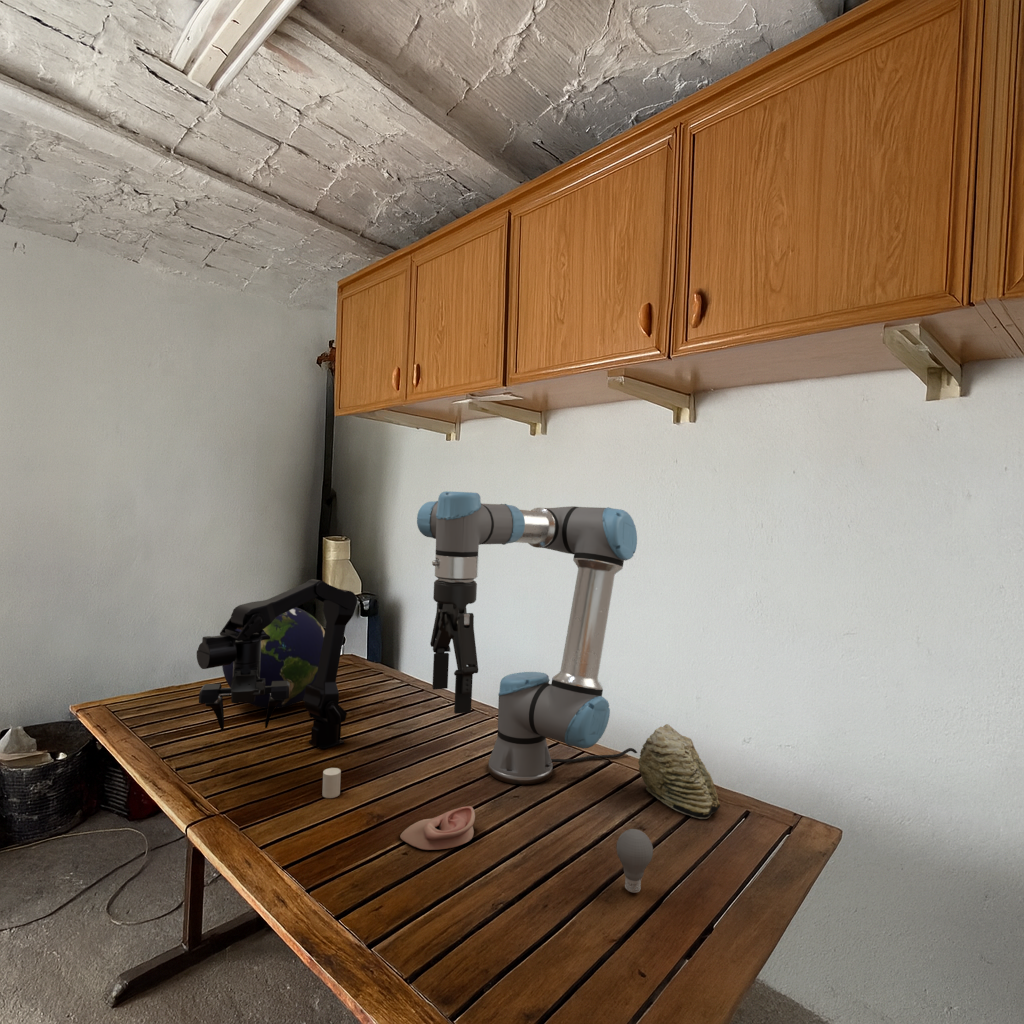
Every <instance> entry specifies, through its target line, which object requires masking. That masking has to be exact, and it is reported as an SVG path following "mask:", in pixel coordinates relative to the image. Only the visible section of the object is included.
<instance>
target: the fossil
mask: <svg viewBox="0 0 1024 1024" xmlns="http://www.w3.org/2000/svg"><path fill="white" fill-rule="evenodd" d="M639 753H640V755H639V759H638V762H637V763H638V771H639V773H640V776H641V778H642V780H643V783H644V784H645V785H646V788H645V790H646V791H647V792H648V793H650V794H651V795H652V796H653V797H654V798H656V799H657V800H659V801H660V802H661V803H663V804H664V805H666V806H667V807H668V808H670V809H673V810H674V811H676V812H678V813H681V814H684V815H687V816H690V817H693V818H696V819H699V820H707V819H709V818H710V817H711V815H712V814H715V813H716V812H717V811H719V809H720V808H721V803H720V801H719V795H718V793H717V788H716V787H715V783H714V780H713V777H712V776H711V773H710V772H709V771H708V769H707V767H706V765H705V763H704V762H703V761H702V759H701V758H700V755H699V753H698V751H697V749H696V747H695V745H694V742H693V740H692V739H691V738H690V737H688V736H685V735H682V734H680V732H678V731H677V730H676V729H675V728H673V727H672V726H671V725H670V724H669V723H668V724H667V723H666V724H664V725H663V726H659V727H658V728H656V729H654V731H653V733H652V734H651V735H649V737H647V738H646V740H645V742H644V743H643V744H642V748H641V749H640V752H639Z"/></svg>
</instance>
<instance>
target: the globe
mask: <svg viewBox="0 0 1024 1024" xmlns="http://www.w3.org/2000/svg"><path fill="white" fill-rule="evenodd" d="M263 630H264V631H265V633H266V634H268V635H269V636H270V637H271V638H270V639H268V640H262V641H261V661H260V679H261V678H265V686H271V685H272V681H288V682H289V683H290V686H289V698H288V699H283V702H281V703H278V704H277V705H276V707H275V709H282V708H285V707H289V706H293V705H295V704H298V703H299V702H301V701H302V700H303V698H304V696H305V688H306V686H307V685H310V686H311V685H312V684H313V682H314V681H315V680H316V677H317V671H318V666H319V660H320V655H321V650H322V644H323V639H324V633H325V629H324V627H323V626H322V624H321V623H320V621H318V619H317V618H315V616H314V615H312V614H311V613H310V612H308V611H305V610H304V609H302V608H299V607H296V608H294V609H292V610H289V611H287V612H285V613H283V614H281V615H279V616H278V617H276V618H275V619H274V620H273V622H272V623H271V624H270V625H268V626H267V627H266V628H264V629H263ZM236 631H239V632H241V630H239V629H236ZM221 667H222V672H223V676H224V678H225V679H224V680H225V681H226V683H227V685H228V688H231V681H232V679H233V662H232V663H231V664H230V665H224V666H221ZM269 699H270V694H268V695H260V696H256V697H255V701H254V702H252V703H248V705H251V706H254V707H258V708H262V709H268V704H269Z"/></svg>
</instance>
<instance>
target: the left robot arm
mask: <svg viewBox="0 0 1024 1024" xmlns="http://www.w3.org/2000/svg"><path fill="white" fill-rule="evenodd" d="M315 599H316V600H317V601H320V602H322V603H323V605H322V612H323V616H324V619H325V629H324V631H325V633H324V639H323V644H322V650H321V655H320V660H319V666H318V671H317V677H316V680H315V681H314V682H313V684H312V685H311V686H310V685H307V686H306V688H305V696H304V698H303V700H301V701H302V702H304V703H303V707H304V709H305V711H307V713H308V715H309V718H311V719H313V721H312V722H313V723H312V727H311V730H310V731H311V732H310V733H311V735H310V739H309V740H308V743H309V744H310V745H313V746H314V747H316V748H318V749H320V750H327V749H329V748H333V747H336V746H340V745H343V744H344V743H345V741H344V740H343V739H341V737H342V735H341V733H342V723H343V722H346V719H347V715H348V712H347V711H346V710H345V709H344V708H343V707H342V706H341V705H340V691H339V689H338V684H337V678H338V677H337V676H338V671H339V666H340V660H341V654H342V649H343V644H344V643H343V642H344V637H345V633H346V628H347V625H348V623H349V622H350V621H351V620H352V618H353V617H354V614H355V611H356V609H357V605H358V596H356V594H355V592H353V591H352V590H347V589H341V588H338V587H335V586H333V585H331V584H329V583H327V582H325V581H324V580H321V579H314V578H311V579H309V580H307V581H306V582H304V583H301V584H299V585H297V586H295V587H293V588H291V589H288V590H287V591H283V592H281V593H279V594H277V595H275V596H273V597H272V596H271V597H270V598H268V599H263V600H255V601H251V602H246V603H243V604H238V605H237V606H236V607H235V608H234V609H232V613H231V614H230V618H229V619H228V620H227V622H226V624H225V625H224V626H223V627H222V629H221V630H220V632H219V634H218V635H206V636H202V639H201V641H202V642H201V643H200V644H199V645H198V647H197V650H196V662H197V665H198V666H199V667H200V669H201V670H208V669H213V668H219V667H222V666H224V665H230V664H231V663H232V662H233V679H232V681H231V688H230V687H222V683H205V684H204V685H203V686H202V687H201V689H200V690H199V693H198V704H205V707H207V708H208V707H209V708H211V709H212V711H213V713H214V715H215V717H216V720H217V723H218V725H219V728H220V731H221V732H224V730H225V717H224V716H225V714H224V698H225V697H226V698H227V697H229V698H230V697H231V698H230V699H231V703H232V704H234V705H237V704H240V703H247V704H249V703H252V702H254V701H255V697H256V696H260V695H268V694H270V699H269V704H268V708H267V711H266V716H265V723H264V728H265V729H268V727H269V723H270V721H271V718H272V715H273V712H274V710H275V709H276V708H275V707H276V705H277V704H278V703H281V702H283V699H288V698H289V686H290V683H289V682H288V681H272V685H271V686H265V678H261V679H260V661H261V641H262V640H268V639H270V638H271V637H270V636H269V635H268V634H266V633H265V631H264V630H263V629H264V628H266V627H267V626H268V625H270V624H271V623H272V622H273V620H274V619H275V618H276V617H278V616H279V615H281V614H283V613H285V612H287V611H289V610H292V609H294V608H296V607H297V608H299V607H300V606H302V605H304V604H306V603H308V602H311V601H312V600H315ZM236 629H239V630H241V632H239V631H236Z"/></svg>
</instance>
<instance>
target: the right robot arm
mask: <svg viewBox="0 0 1024 1024" xmlns="http://www.w3.org/2000/svg"><path fill="white" fill-rule="evenodd" d="M481 500H482V499H481V495H480V494H479V493H478V492H471V491H470V492H468V491H448V490H447V491H442V492H440V493H439V495H438V500H435V501H434V500H433V501H431V500H430V501H427V502H425V503H423V504H422V505H421V506H420V507H419V509H418V511H417V516H416V526H417V529H418V530H419V532H420V534H421V535H423V536H424V537H426V538H431V539H434V540H435V560H432V561H431V563H432V566H433V567H434V577H436V578H437V579H435V581H434V582H433V598H432V599H433V601H434V602H435V603H436V611H435V612H436V613H435V618H434V623H433V628H432V634H431V639H430V647H431V648H432V651H433V663H432V664H433V665H432V687H431V688H432V690H446V689H448V688H449V687H448V685H449V662H450V653H449V652H451V651H452V650H451V646H450V644H451V641H452V645H453V650H454V657H455V662H456V668H457V669H455V671H454V673H453V675H454V676H455V684H454V685H455V686H454V705H453V713H454V714H455V715H458V714H467V713H468V714H469V713H472V703H473V702H472V701H473V700H472V698H473V678H474V677H473V676H474V674H478V673H479V664H478V663H479V662H478V655H477V654H478V653H477V647H476V646H477V645H476V635H475V626H474V623H475V621H474V618H475V615H474V612H467V606H468V605H470V604H471V605H472V604H474V603H475V602H476V601H477V592H478V584H477V581H475V580H477V578H478V576H479V548H480V547H479V546H480V545H503V546H506V545H507V544H513V543H519V544H520V543H522V544H528V545H530V546H531V547H533V548H538V549H539V548H540V549H547V550H552V551H555V552H559V553H564V554H570V555H573V560H572V561H573V562H574V564H575V565H576V567H577V574H576V579H575V585H574V592H573V597H572V602H571V608H570V614H569V620H568V625H567V631H566V636H565V642H564V648H563V652H562V653H563V654H562V660H561V667H560V671H558V673H557V674H555V675H554V676H553V677H552V679H550V676H549V675H548V674H547V673H545V672H541V671H521V672H514V673H510V674H506V675H505V676H503V677H502V678H501V680H500V683H499V691H498V694H497V695H498V707H497V709H498V711H497V737H496V740H495V743H494V745H493V748H492V750H491V753H490V756H489V760H488V769H487V770H488V771H487V772H488V773H489V775H491V776H492V777H493V778H495V779H496V780H499V781H500V782H504V783H507V784H513V785H523V786H524V785H525V786H526V785H533V784H534V785H535V784H539V783H543V782H545V781H547V780H549V779H550V778H551V777H552V775H553V763H564V764H565V763H568V764H569V763H577V762H581V761H582V762H583V761H586V760H595V759H596V760H597V759H615V758H616V759H617V758H620V757H622V756H625V755H626V754H627V753H629V752H632V753H634V754H638V751H637V750H636V749H635V748H633V747H628V748H627V749H624V750H623V751H621V752H620V753H615V754H594V755H587V756H582V757H576V758H566V759H565V758H563V759H562V758H551V753H550V749H549V746H548V742H547V738H548V739H551V740H554V741H557V742H560V743H563V744H565V745H567V746H568V747H575V748H579V749H590V748H592V747H593V746H594V745H596V744H597V743H598V742H599V741H600V739H602V737H603V735H604V734H605V732H606V730H607V727H608V724H609V720H610V715H611V709H610V703H609V701H608V700H607V699H606V698H605V697H604V696H603V691H604V687H603V685H602V684H601V682H600V681H599V674H600V668H601V662H602V656H603V650H604V643H605V638H606V631H607V625H608V620H609V612H610V607H611V600H612V596H613V589H614V582H615V577H616V575H617V574H618V573H619V572H620V571H622V570H623V569H624V562H625V561H629V560H631V559H632V558H633V557H634V554H635V553H636V550H637V544H638V531H637V528H636V525H635V522H634V519H633V517H632V516H631V514H630V513H629V512H628V511H626V510H624V509H622V508H621V509H620V508H613V507H609V506H608V507H595V506H593V507H590V506H573V505H572V506H557V507H534V508H532V509H531V510H529V509H528V510H527V509H520V508H518V507H517V506H515V505H511V504H507V503H482V502H481ZM550 680H551V681H550ZM550 682H551V683H550Z"/></svg>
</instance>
